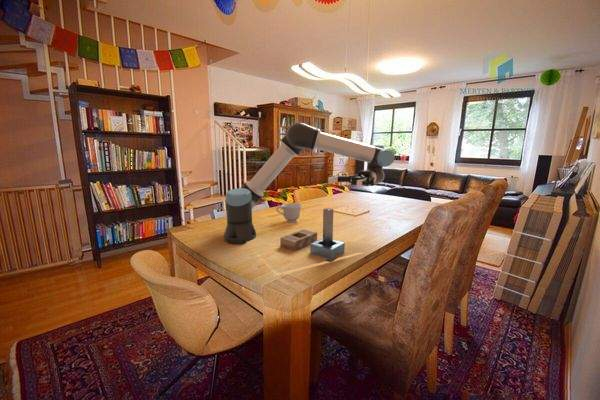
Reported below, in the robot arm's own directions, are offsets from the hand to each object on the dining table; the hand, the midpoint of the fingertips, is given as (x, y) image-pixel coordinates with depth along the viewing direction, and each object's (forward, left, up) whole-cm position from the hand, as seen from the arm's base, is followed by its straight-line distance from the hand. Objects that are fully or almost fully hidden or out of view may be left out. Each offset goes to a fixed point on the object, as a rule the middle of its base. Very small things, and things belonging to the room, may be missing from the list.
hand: (342, 182), depth 107 cm
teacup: (0, +47, -29) cm, 55 cm away
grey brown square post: (-9, -3, -28) cm, 30 cm away
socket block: (-9, -3, -29) cm, 31 cm away
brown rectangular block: (-14, +11, -29) cm, 34 cm away
